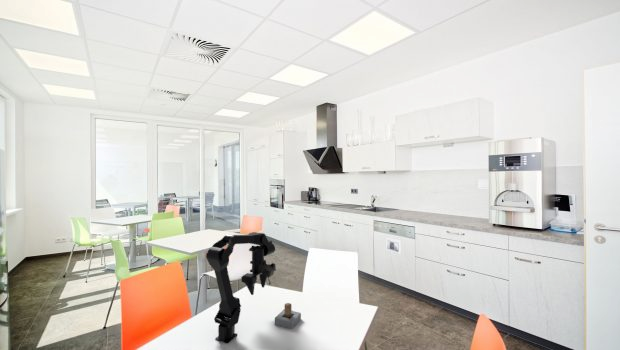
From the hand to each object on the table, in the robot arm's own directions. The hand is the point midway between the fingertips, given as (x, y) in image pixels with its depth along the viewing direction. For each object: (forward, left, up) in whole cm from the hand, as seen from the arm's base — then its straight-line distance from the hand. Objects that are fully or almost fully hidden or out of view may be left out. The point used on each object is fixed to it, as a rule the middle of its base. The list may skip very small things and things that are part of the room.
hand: (257, 290), depth 132 cm
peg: (+1, -16, -12) cm, 20 cm away
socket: (+1, -16, -12) cm, 20 cm away
